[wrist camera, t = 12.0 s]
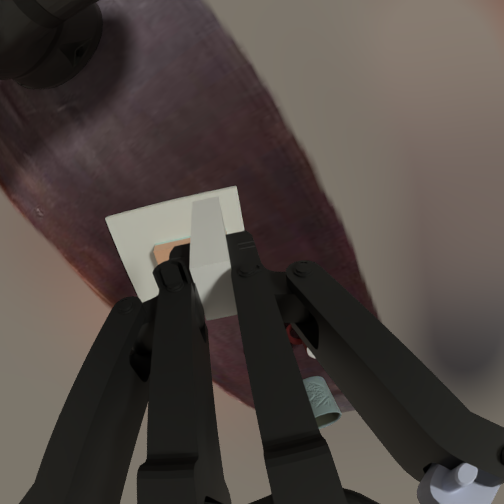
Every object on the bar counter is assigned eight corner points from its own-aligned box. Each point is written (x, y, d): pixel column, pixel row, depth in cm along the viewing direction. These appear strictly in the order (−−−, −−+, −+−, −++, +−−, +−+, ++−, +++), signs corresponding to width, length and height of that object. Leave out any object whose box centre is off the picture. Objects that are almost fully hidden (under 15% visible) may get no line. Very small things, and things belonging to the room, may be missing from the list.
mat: (106, 216, 40) (105, 218, 39) (236, 185, 41) (236, 187, 41) (148, 314, 51) (148, 316, 50) (255, 293, 52) (256, 295, 51)
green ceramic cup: (299, 375, 69) (311, 415, 59) (333, 372, 71) (348, 409, 61) (287, 396, 74) (297, 432, 64) (320, 393, 76) (332, 427, 66)
